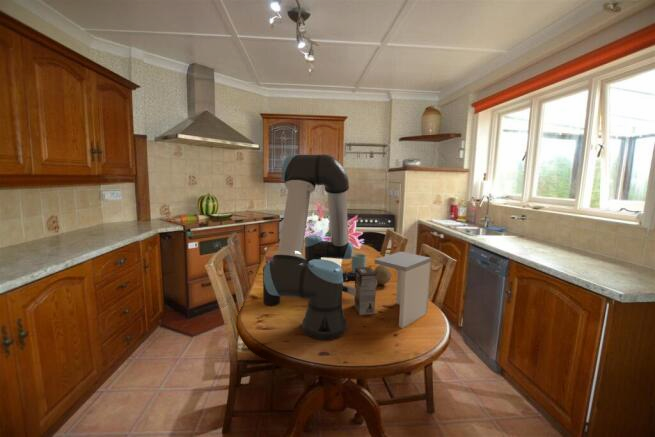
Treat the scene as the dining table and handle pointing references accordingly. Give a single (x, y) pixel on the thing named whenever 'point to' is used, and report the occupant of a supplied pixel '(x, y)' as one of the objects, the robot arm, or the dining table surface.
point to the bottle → (267, 297)
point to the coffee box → (365, 290)
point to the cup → (358, 261)
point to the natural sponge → (383, 274)
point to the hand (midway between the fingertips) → (366, 287)
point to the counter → (410, 284)
